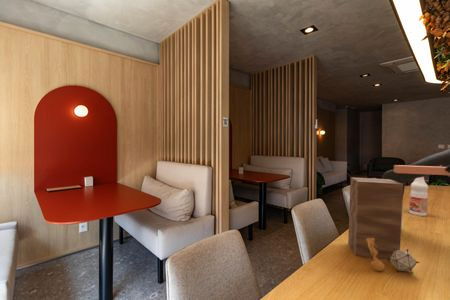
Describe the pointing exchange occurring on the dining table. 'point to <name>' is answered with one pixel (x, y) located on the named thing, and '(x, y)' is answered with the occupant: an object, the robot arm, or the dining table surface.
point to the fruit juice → (419, 197)
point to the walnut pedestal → (375, 216)
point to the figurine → (375, 263)
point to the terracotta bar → (420, 170)
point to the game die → (403, 260)
